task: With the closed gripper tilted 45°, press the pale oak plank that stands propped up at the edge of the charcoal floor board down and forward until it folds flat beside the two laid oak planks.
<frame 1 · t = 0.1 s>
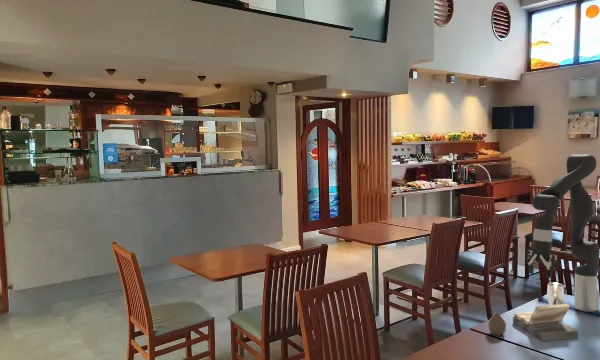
hand: (539, 275, 203), 22 cm above the table, tool pointing down, fingers open, 8 cm apart
floor board: (544, 330, 199), on the table
vase: (497, 334, 196), on the table
oak plank: (549, 313, 195), point 8 cm above the table, hinge at 60.0°
metal can: (555, 316, 214), on the table
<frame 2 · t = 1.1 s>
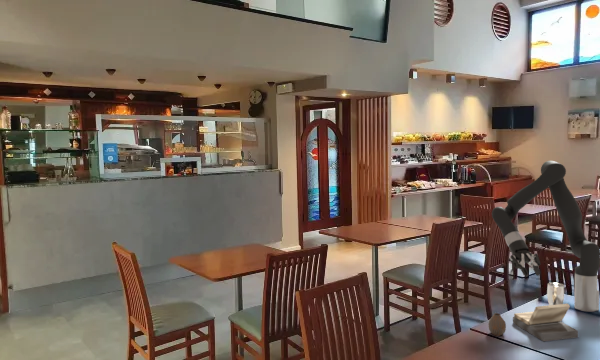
hand: (533, 275, 204), 22 cm above the table, tool tilted 45°, fingers open, 5 cm apart
nothing on the table moved.
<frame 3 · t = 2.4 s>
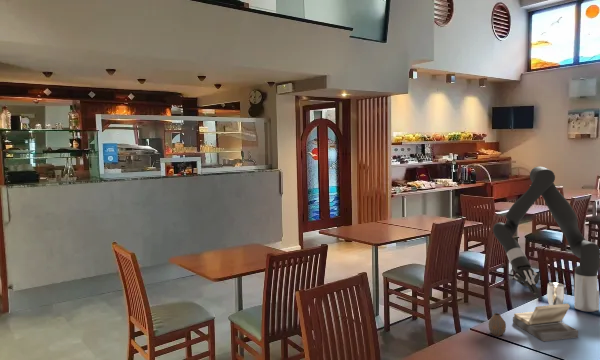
hand: (535, 293, 203), 15 cm above the table, tool tilted 45°, fingers closed
nothing on the table moved.
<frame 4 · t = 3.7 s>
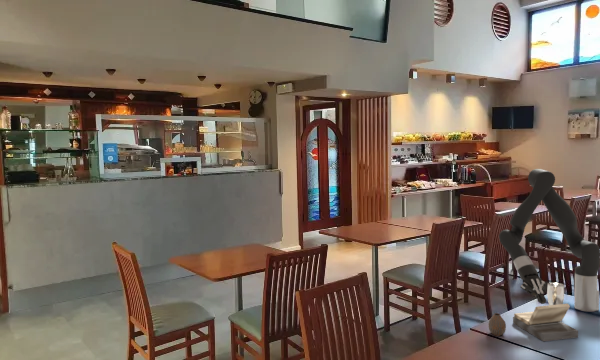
hand: (543, 302, 198), 12 cm above the table, tool tilted 45°, fingers closed
nothing on the table moved.
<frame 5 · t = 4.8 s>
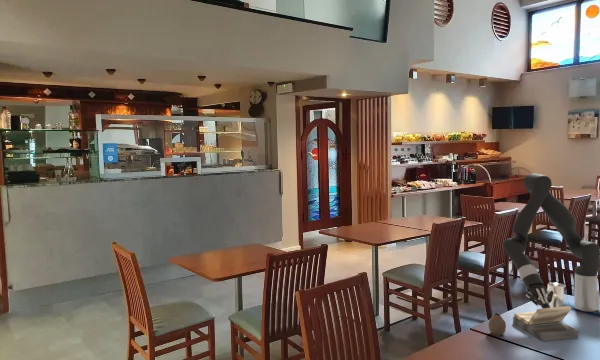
hand: (549, 312, 195), 9 cm above the table, tool tilted 45°, fingers closed
oak plank: (549, 315, 195), point 8 cm above the table, hinge at 52.9°, touching gripper
everything else where it was.
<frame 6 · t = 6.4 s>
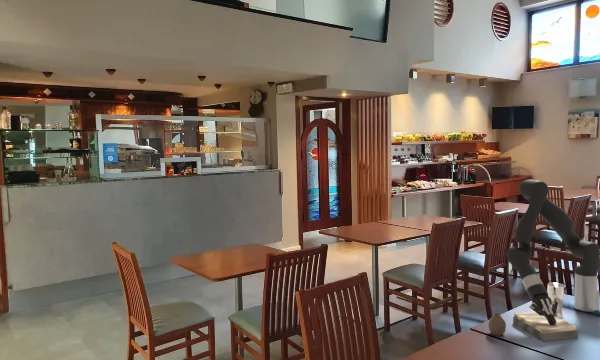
hand: (553, 324, 192), 5 cm above the table, tool tilted 45°, fingers closed
oak plank: (551, 325, 194), point 4 cm above the table, hinge at -0.3°, touching floor board, gripper
everything else where it was.
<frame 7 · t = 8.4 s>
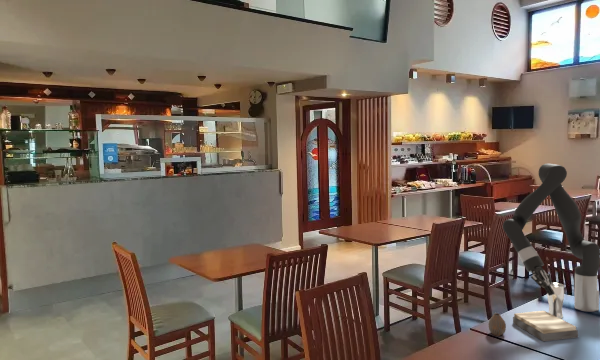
hand: (551, 294, 198), 15 cm above the table, tool tilted 40°, fingers closed
oak plank: (551, 325, 194), point 4 cm above the table, hinge at -0.3°, touching floor board
everything else where it was.
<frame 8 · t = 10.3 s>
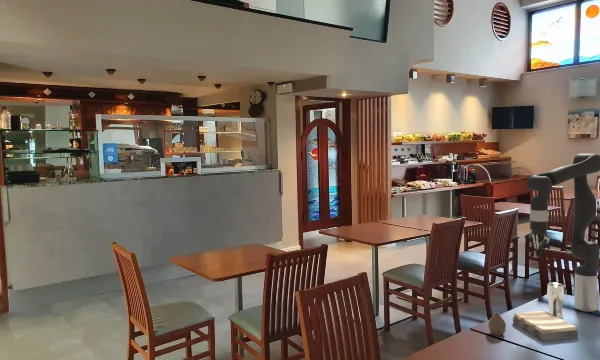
hand: (538, 256, 210), 29 cm above the table, tool pointing down, fingers closed
nothing on the table moved.
at the end: oak plank at +0° (first picture: +60°); metal can moved 0.2 cm from its start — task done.
